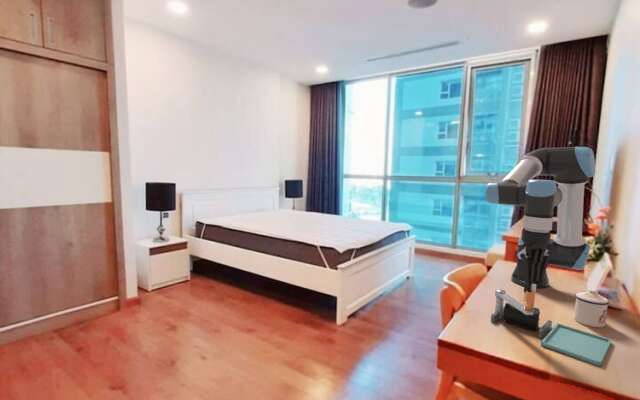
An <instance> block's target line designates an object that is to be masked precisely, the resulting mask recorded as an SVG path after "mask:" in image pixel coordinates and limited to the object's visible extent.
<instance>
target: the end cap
mask: <svg viewBox="0 0 640 400" xmlns="http://www.w3.org/2000/svg"><path fill="white" fill-rule="evenodd" d="M503 307H504V312H503V316H502V319H503V320H504V321H505V322H506V323H508V324H513V325H515V326H519V327H523V328H525V329H526V328H527V329H530V330H534V331H537V330H539V324H540V314H541V312H540V309H539V308H537V307H535V306H534V312H533V315H526V314H524V313H523V312H521V311H520V310H518V309H517V308H515V307H514V306H512V305H511V304H510V303H508V302H506V303H505V304H504V306H503Z"/></svg>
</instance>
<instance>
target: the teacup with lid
mask: <svg viewBox="0 0 640 400" xmlns="http://www.w3.org/2000/svg"><path fill="white" fill-rule="evenodd" d="M609 303H610V301H609V300H608V299H607V298H606V297H605V296H602V295H600V294H599V293H597V291H596V289H589V290H588V291H585V292H583V291H582V292H576V294H575V304H574V305H575V306H574V316H573V317H574V320H575V321H576V322H577V323H580V324H582V325H584V326H587V327H591V328H604V327H606V324H607V315H608V305H609Z"/></svg>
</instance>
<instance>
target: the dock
mask: <svg viewBox="0 0 640 400" xmlns="http://www.w3.org/2000/svg"><path fill="white" fill-rule="evenodd" d="M504 301H505V300H504V299H502V298H499V297H496V296H495V305H494V306H495V307H494V312H493V313H492V314H491V317H490V323H495V322H497V321H498V320H502V319H503V312H504V307H505V306H504ZM552 323H553V321H552V320H550V319H548V320H546V321H545V323H544V324H543V325H542V326H541V327H540V328H538V333H537V334H538V335H537V338H538V339H541V340H543V339H544V338H545V337H546V336H547V335H548V333H549V332H550V331H551V330H552Z"/></svg>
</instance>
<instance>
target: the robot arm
mask: <svg viewBox="0 0 640 400" xmlns="http://www.w3.org/2000/svg"><path fill="white" fill-rule="evenodd" d="M595 161H596V159H595V155H594V151H593V149H592V148H590V147H587V146H563V147H560V146H559V147H542V148H538V149H535V150H531V151H530V152H528V153H526V154H524V155H523V156H521V158H519V159H518V160H517V162H516V164H515V167H513V169H512V170H511V171H510V172H509V173H508V174H507V175H506V176H505V177H504V178H503V179H502V180H501V181H500V182H489V183H488V184H487V186H486V188H485V200H486V202H488V204H495V205H505V206H517V207H518V206H519V207H524V208H523V209H524V210H523V211H524V212H523V218H522V219H523V220H522V221H523V222H522V228H523V229H522V230H521V235H520V236H519V238H518V243H517V251H516V252H515V254H514V255H515V257H516V265H515V267H514V269H513V271H512V273H511V278H510V280H511V281H512V282H513V283H515V284H517V285H520V286H523V299H522V300H523V301H522V302H524V303H525V297H526V290H530V291H534V292H535V294H536V293H537V289H545V288H548V287H549V286H550V279H549V277H548V273H547V269H548V265H550V266H555V267H561V268H566V269H570V270H579V271H581V270H584V268H585V267H586V265H587V261H588V257H589V254H590V250H591V244H589V243H587V239H586V238H585V237H584V236H583V222H584V221H583V218H584V199H585V198H584V197H585V185H586V184H587V183H589V181H590V178H592V177H594V176H595V173H596V162H595ZM538 176H545V177H547V176H550V177H553V180H551V179H534V178H536V177H538ZM557 185H558V186H557ZM555 207H557V215H556V216H557V218H556V219H557V222H556V234H555V235H553V237H551V236H552V232H551V231H552V229H553V220H554V210H555V209H554V208H555ZM534 303H535V301H534Z"/></svg>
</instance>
